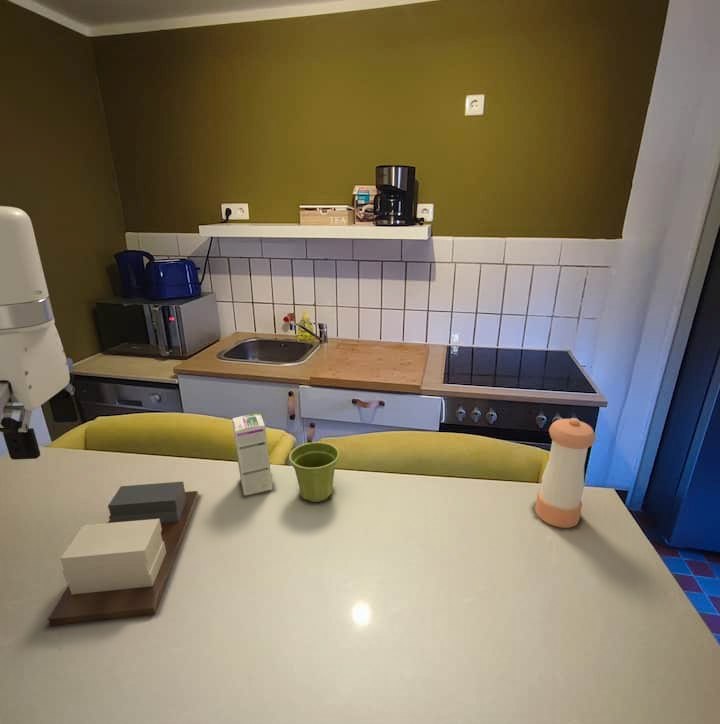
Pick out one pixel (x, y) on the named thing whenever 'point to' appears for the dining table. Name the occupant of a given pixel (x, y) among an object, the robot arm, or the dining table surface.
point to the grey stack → (148, 502)
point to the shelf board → (126, 600)
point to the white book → (112, 544)
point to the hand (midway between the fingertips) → (48, 438)
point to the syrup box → (252, 453)
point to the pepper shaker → (564, 473)
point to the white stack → (117, 574)
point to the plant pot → (314, 469)
